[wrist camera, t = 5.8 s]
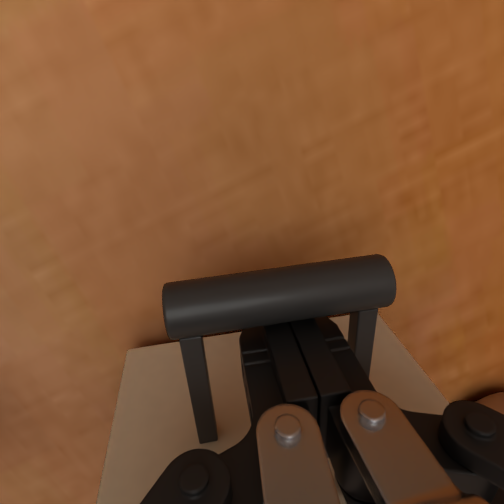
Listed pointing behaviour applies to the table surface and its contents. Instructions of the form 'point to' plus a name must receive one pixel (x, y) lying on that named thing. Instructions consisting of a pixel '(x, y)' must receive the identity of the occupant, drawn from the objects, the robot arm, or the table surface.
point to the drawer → (229, 362)
